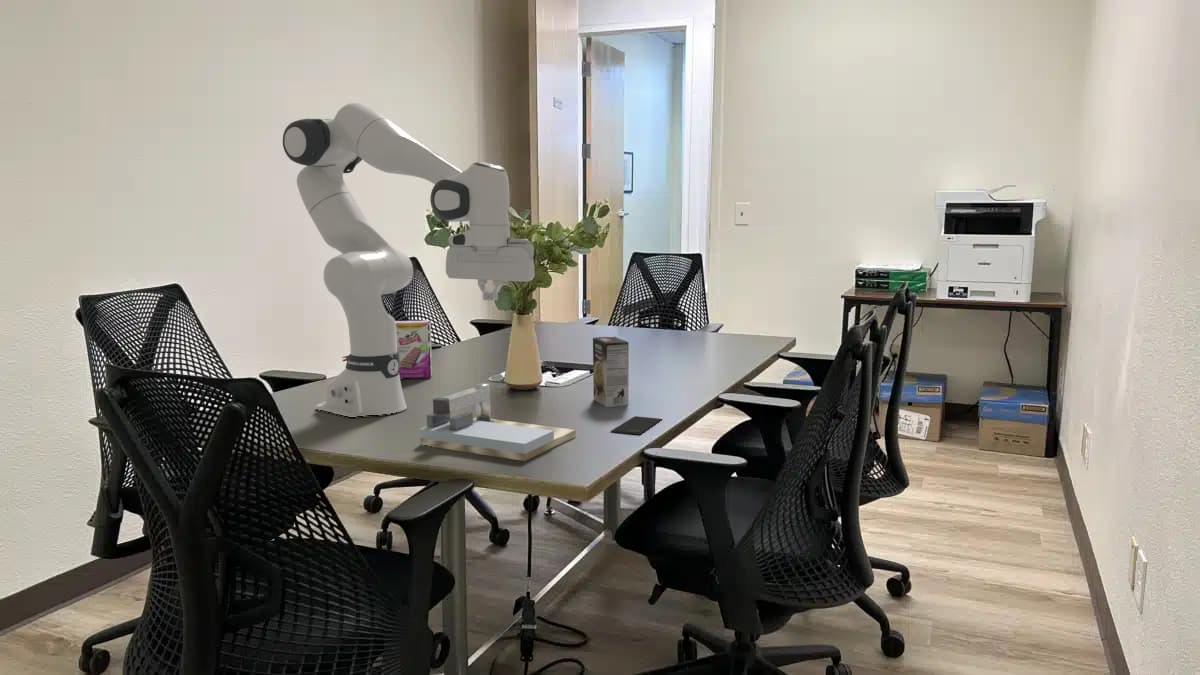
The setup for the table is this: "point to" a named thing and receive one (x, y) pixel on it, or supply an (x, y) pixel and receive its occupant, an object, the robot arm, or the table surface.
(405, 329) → the candy bar box
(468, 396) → the lock bar
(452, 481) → the table surface
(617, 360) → the coffee box
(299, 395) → the table surface
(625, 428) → the smartphone
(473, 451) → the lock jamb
